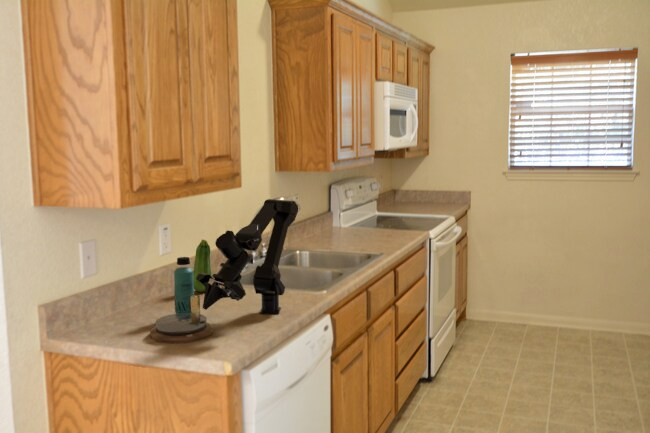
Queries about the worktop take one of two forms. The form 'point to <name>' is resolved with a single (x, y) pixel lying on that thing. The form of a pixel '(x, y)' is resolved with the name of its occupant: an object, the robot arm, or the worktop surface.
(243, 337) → the worktop surface
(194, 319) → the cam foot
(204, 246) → the vegetable
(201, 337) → the stand base
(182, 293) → the beverage bottle
